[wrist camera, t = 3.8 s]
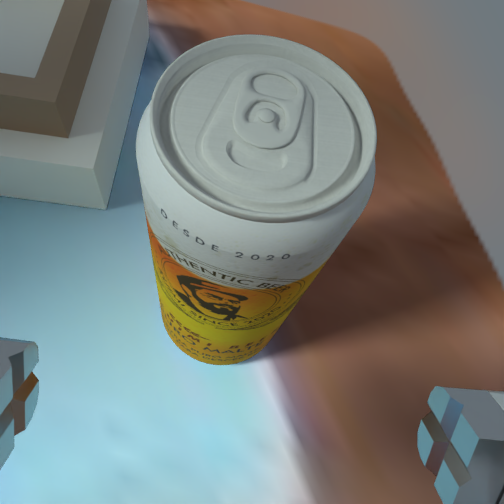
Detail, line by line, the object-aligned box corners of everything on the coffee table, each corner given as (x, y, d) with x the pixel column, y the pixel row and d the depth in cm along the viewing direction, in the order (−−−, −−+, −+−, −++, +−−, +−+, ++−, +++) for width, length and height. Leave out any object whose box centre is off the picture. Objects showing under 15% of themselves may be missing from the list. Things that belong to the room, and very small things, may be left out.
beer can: (146, 352, 23) (89, 191, 9) (180, 245, 25) (175, -3, 12) (265, 380, 23) (382, 266, 9) (286, 272, 25) (401, 58, 12)
